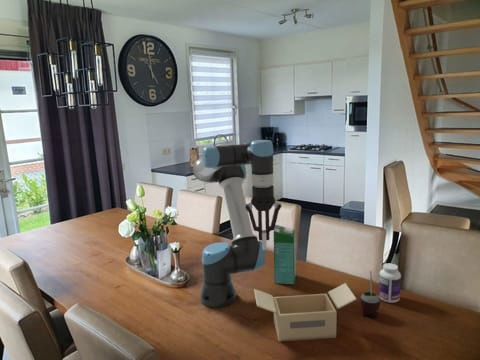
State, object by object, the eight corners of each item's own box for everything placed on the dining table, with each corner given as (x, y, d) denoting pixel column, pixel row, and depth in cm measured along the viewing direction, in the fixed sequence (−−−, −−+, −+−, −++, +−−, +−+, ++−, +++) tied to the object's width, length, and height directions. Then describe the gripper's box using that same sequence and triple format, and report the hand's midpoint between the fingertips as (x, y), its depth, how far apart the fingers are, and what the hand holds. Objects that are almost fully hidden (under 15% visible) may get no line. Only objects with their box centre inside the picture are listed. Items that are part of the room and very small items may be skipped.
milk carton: (294, 284, 162) (294, 231, 157) (274, 283, 164) (273, 231, 158) (295, 275, 171) (295, 225, 165) (276, 274, 172) (275, 224, 167)
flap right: (336, 308, 123) (356, 298, 122) (327, 292, 133) (345, 282, 133) (337, 309, 123) (356, 299, 123) (328, 293, 134) (345, 284, 133)
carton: (278, 341, 124) (278, 315, 122) (273, 321, 135) (273, 297, 133) (336, 337, 124) (336, 311, 122) (326, 317, 136) (326, 293, 134)
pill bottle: (399, 295, 150) (400, 263, 147) (400, 305, 142) (402, 271, 139) (378, 292, 152) (379, 260, 149) (378, 302, 145) (380, 269, 142)
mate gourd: (369, 321, 133) (370, 284, 130) (354, 310, 140) (355, 275, 137) (384, 315, 136) (386, 279, 133) (369, 305, 143) (370, 270, 140)
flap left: (272, 295, 133) (254, 288, 132) (277, 312, 122) (257, 304, 121) (272, 296, 133) (254, 290, 132) (276, 313, 122) (256, 306, 121)
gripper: (244, 188, 121) (246, 253, 126) (282, 187, 121) (283, 252, 126) (244, 183, 129) (246, 244, 134) (280, 182, 128) (281, 243, 134)
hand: (264, 248), depth 130 cm, fingers closed
